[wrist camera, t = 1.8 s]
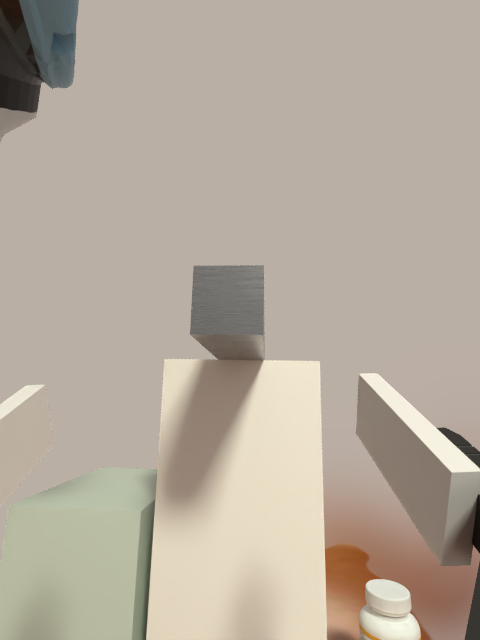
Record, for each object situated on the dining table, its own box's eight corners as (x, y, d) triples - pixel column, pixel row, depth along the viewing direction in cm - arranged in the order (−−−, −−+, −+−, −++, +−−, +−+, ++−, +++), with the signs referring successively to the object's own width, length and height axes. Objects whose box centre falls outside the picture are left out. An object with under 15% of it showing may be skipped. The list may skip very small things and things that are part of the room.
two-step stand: (333, 876, 21) (319, 361, 28) (-40, 835, 23) (30, 357, 29) (304, 674, 37) (299, 375, 43) (84, 658, 38) (111, 372, 45)
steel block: (262, 335, 17) (263, 265, 18) (190, 334, 18) (193, 265, 18) (264, 376, 46) (264, 349, 47) (236, 376, 47) (237, 348, 47)
